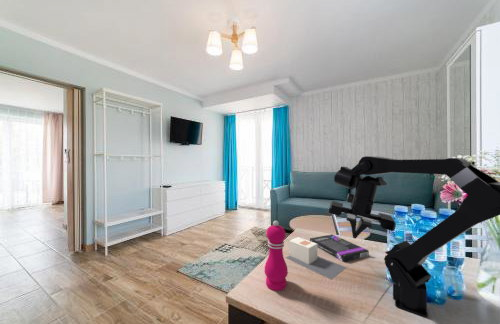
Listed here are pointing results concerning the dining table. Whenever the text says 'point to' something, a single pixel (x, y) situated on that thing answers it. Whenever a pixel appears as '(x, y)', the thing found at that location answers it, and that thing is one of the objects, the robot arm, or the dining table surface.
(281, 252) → the pepper mill
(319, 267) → the mat
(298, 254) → the block
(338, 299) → the dining table surface
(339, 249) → the box
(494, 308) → the dining table surface
